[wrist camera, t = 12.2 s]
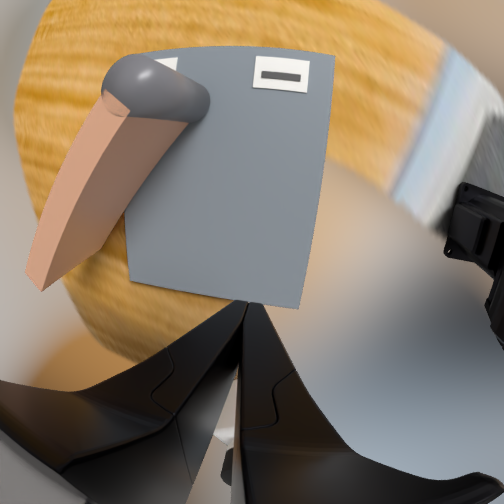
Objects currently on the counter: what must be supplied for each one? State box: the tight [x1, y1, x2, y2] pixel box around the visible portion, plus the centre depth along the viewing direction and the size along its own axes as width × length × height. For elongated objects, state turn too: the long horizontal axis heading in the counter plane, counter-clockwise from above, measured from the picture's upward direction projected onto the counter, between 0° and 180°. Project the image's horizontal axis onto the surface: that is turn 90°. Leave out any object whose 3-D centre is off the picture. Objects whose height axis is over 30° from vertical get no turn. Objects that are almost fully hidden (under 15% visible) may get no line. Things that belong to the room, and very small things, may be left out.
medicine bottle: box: [213, 379, 237, 486], centre depth 23 cm, size 7×7×12 cm
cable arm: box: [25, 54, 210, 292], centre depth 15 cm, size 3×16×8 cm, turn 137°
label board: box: [124, 46, 335, 309], centre depth 20 cm, size 15×20×1 cm
